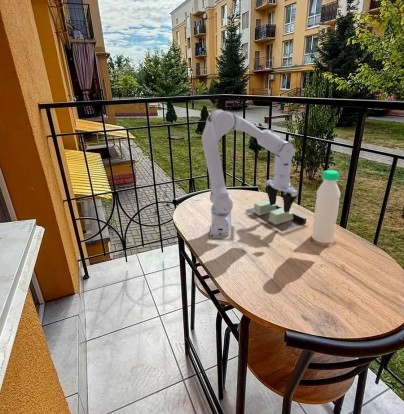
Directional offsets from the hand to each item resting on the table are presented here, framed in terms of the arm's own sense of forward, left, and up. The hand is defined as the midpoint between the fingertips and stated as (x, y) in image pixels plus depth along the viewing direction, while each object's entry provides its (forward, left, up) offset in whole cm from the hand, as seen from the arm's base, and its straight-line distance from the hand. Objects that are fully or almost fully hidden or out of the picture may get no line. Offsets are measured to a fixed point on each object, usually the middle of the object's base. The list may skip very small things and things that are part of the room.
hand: (279, 207), depth 107 cm
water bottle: (-12, -13, -7) cm, 19 cm away
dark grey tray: (+4, +1, -7) cm, 8 cm away
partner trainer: (+8, +5, -5) cm, 11 cm away
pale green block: (0, 0, -5) cm, 5 cm away
